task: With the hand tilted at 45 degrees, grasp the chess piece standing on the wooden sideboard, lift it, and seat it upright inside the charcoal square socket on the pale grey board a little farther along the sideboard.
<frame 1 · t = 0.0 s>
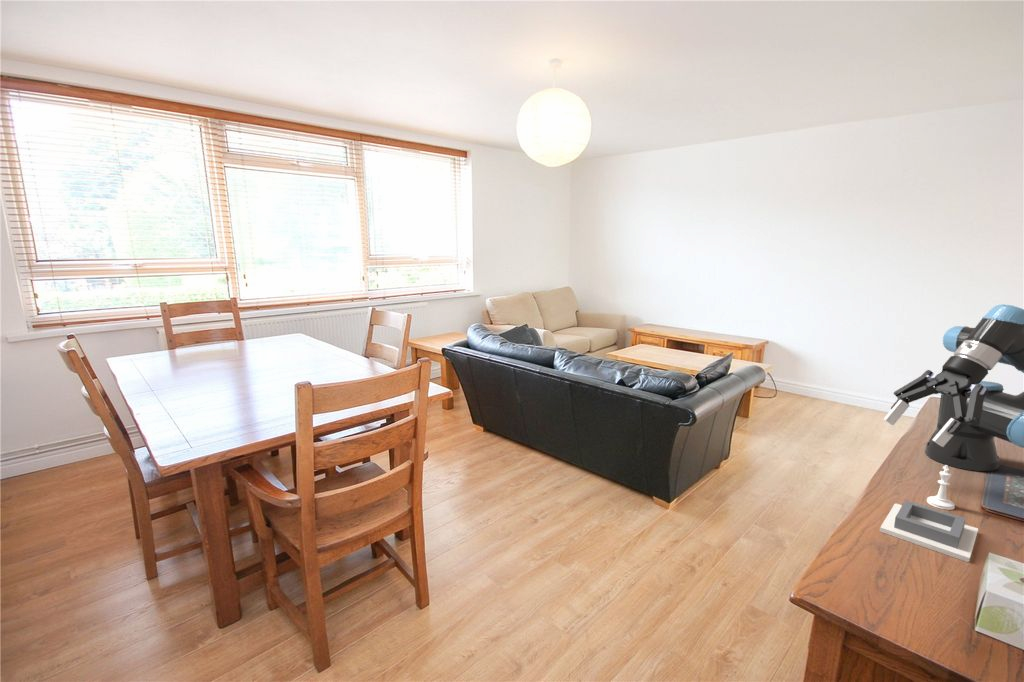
hand: (911, 432, 114), 15 cm above the table, tool tilted 35°, fingers open, 13 cm apart
chess piece: (940, 504, 109), on the table
socket board: (928, 532, 99), on the table
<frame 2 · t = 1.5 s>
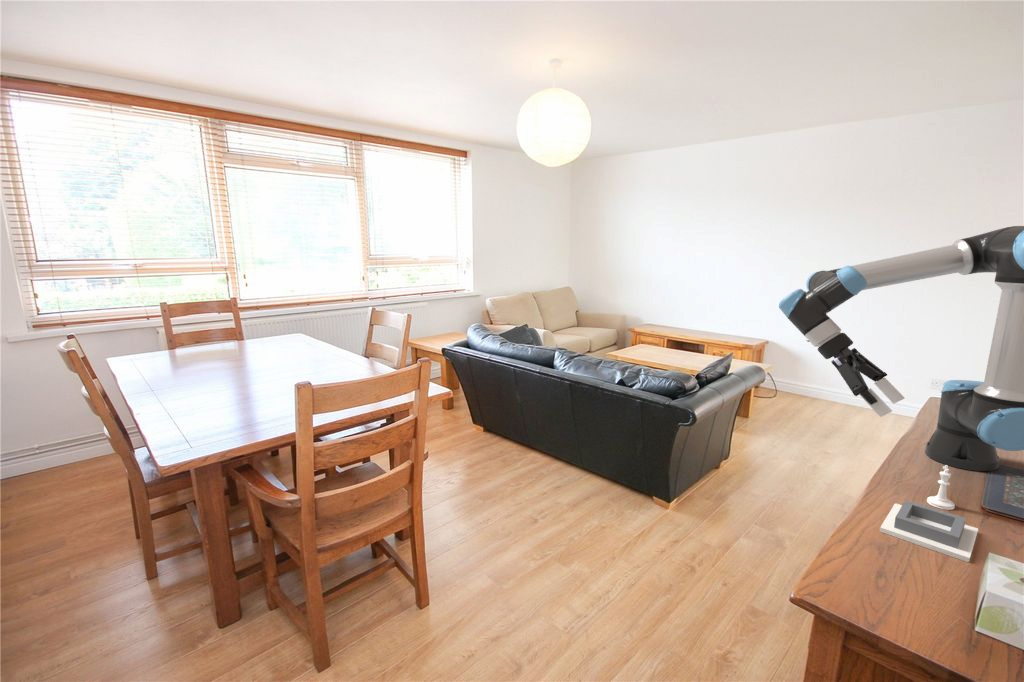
hand: (893, 407, 113), 22 cm above the table, tool tilted 45°, fingers open, 13 cm apart
nothing on the table moved.
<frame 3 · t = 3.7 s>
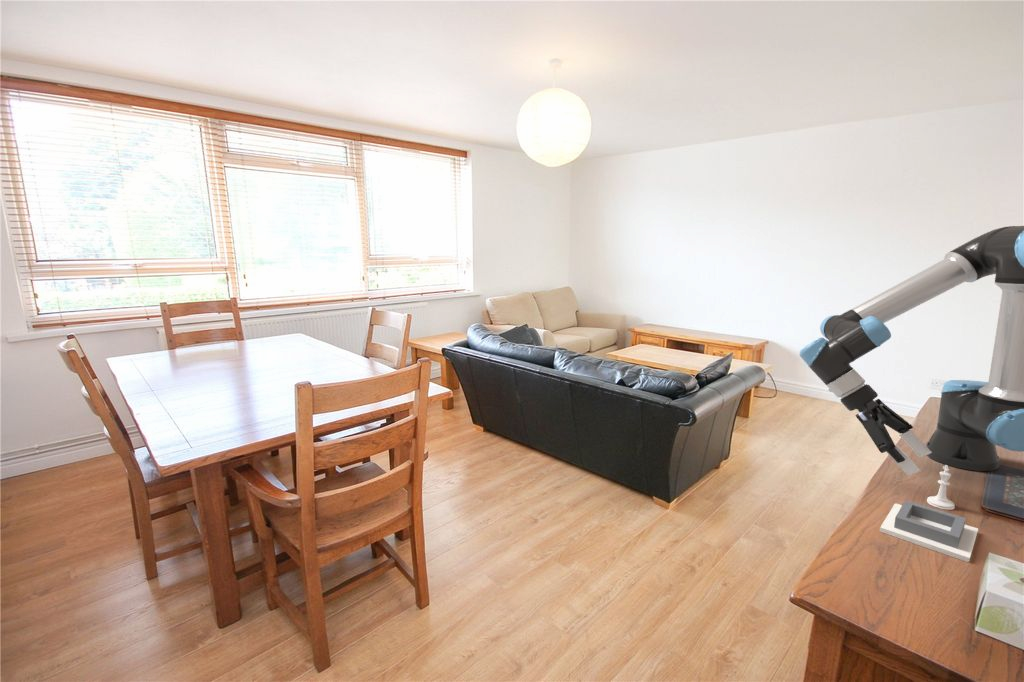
hand: (920, 463, 110), 9 cm above the table, tool tilted 45°, fingers open, 13 cm apart
nothing on the table moved.
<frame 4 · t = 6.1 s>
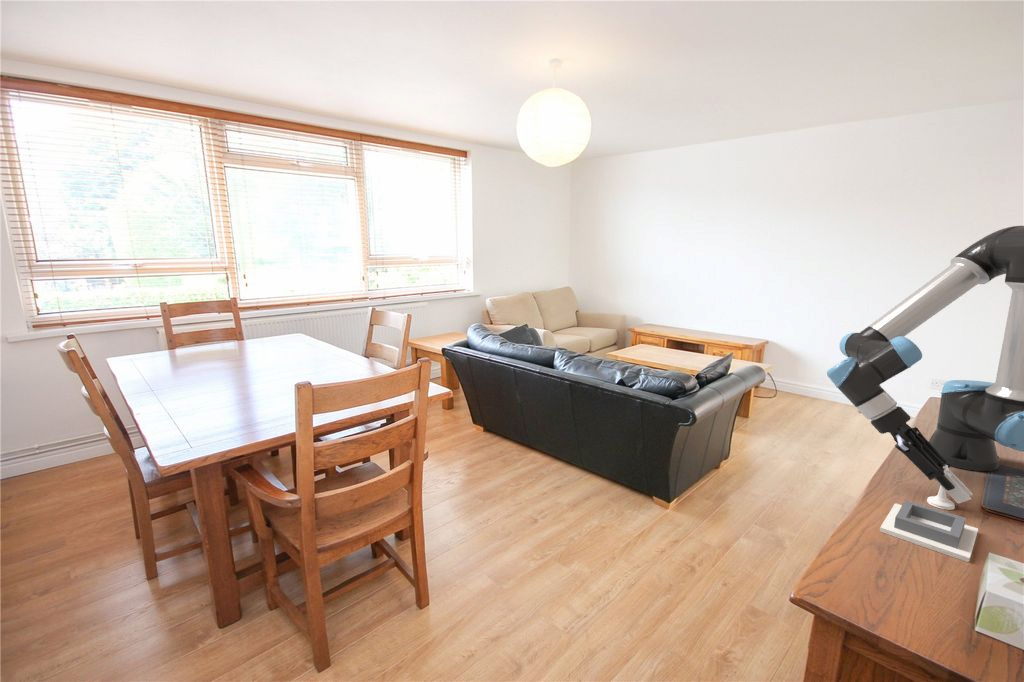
hand: (965, 498, 106), 3 cm above the table, tool tilted 45°, fingers closed on chess piece, 2 cm apart
chess piece: (940, 504, 109), on the table, touching gripper
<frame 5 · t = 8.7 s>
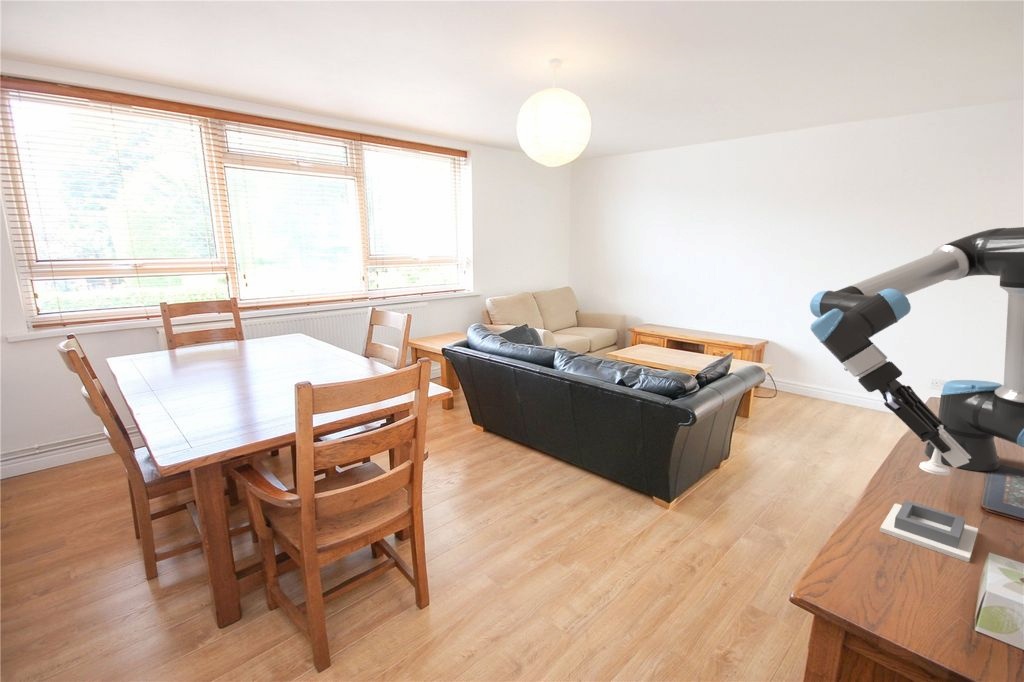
hand: (962, 462, 93), 17 cm above the table, tool tilted 45°, fingers closed on chess piece, 2 cm apart
chess piece: (934, 470, 97), point 14 cm above the table, touching gripper
when the fingers open (6 cm above the table, at t = 11.6 s): chess piece drops 1 cm, resting on socket board.
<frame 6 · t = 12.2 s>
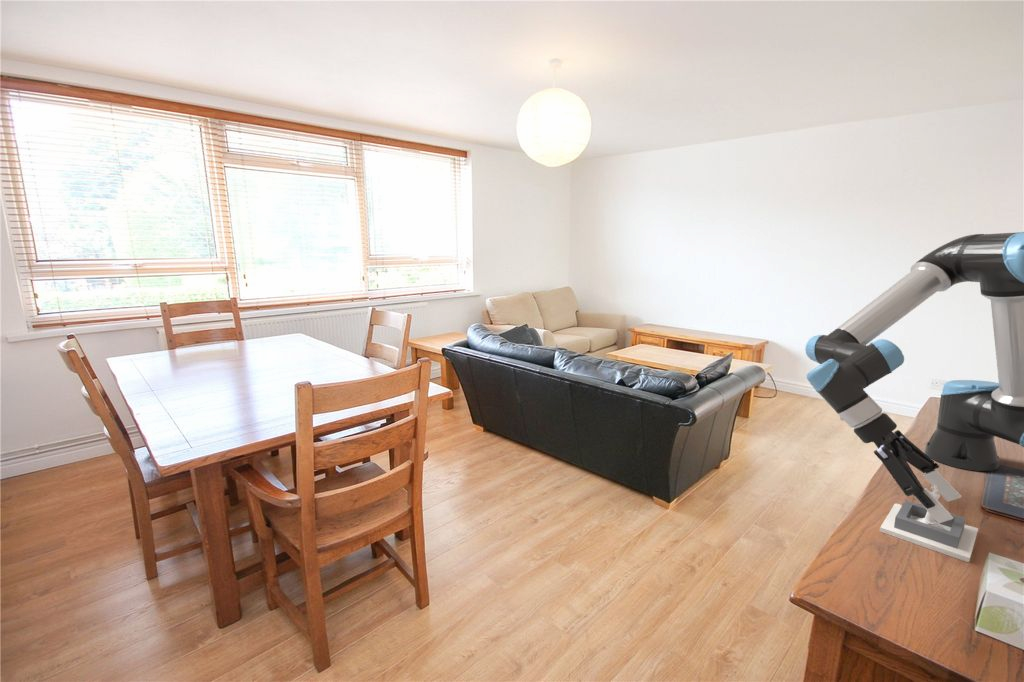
hand: (950, 509, 96), 7 cm above the table, tool tilted 45°, fingers open, 11 cm apart
chess piece: (928, 528, 99), point 1 cm above the table, touching socket board
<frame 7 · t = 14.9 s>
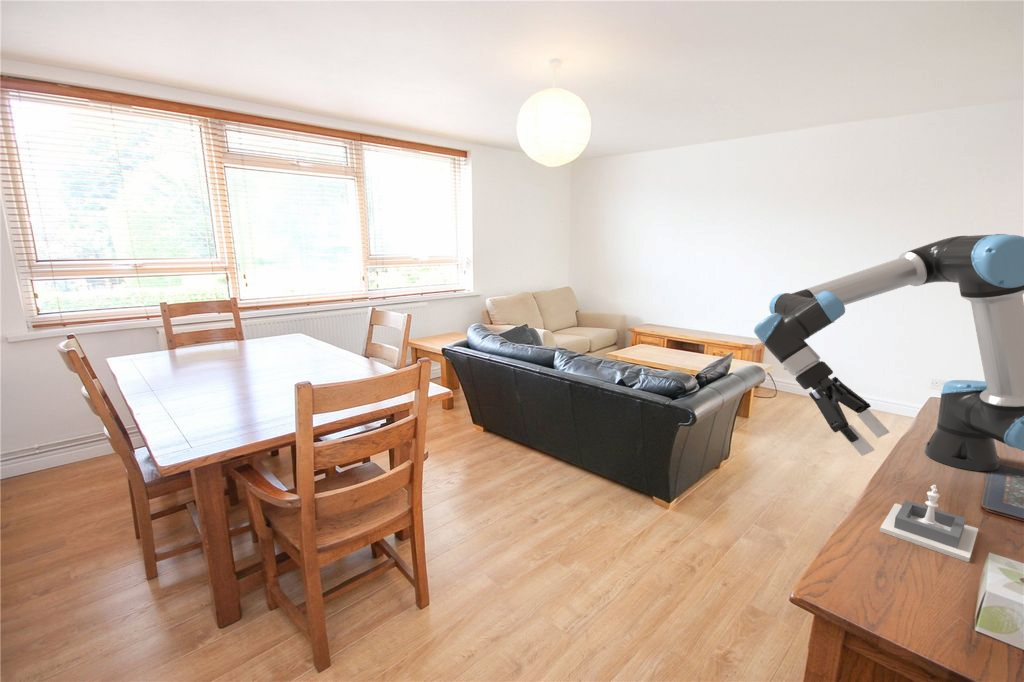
hand: (876, 443, 104), 17 cm above the table, tool tilted 45°, fingers open, 13 cm apart
nothing on the table moved.
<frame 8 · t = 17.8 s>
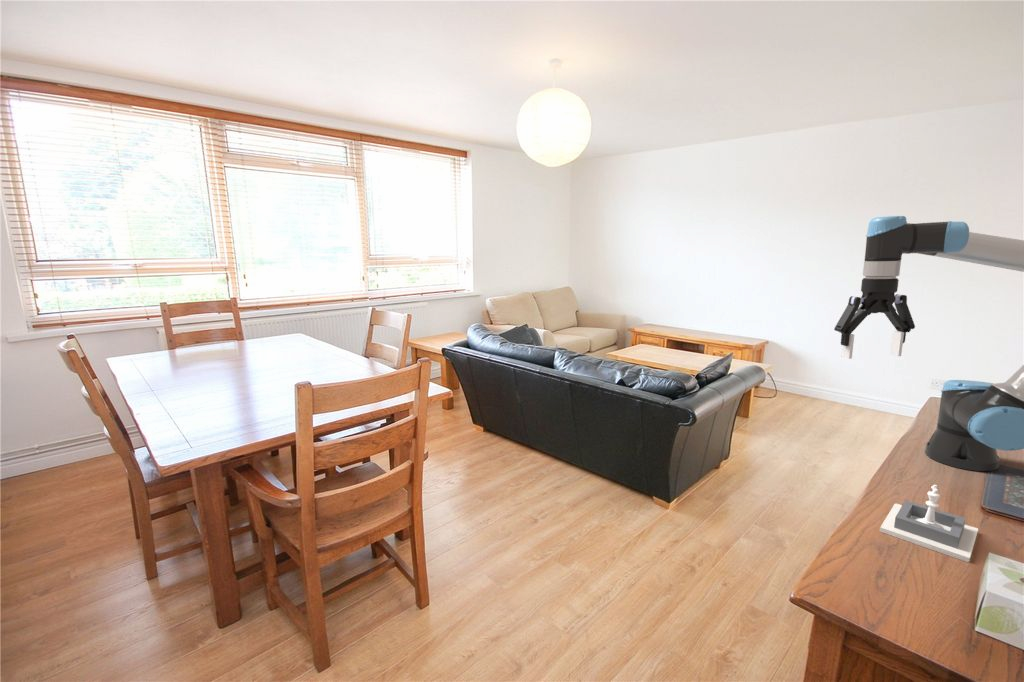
hand: (871, 356, 124), 32 cm above the table, tool pointing down, fingers open, 13 cm apart
nothing on the table moved.
at the end: chess piece 0.1 cm off-centre on the socket board, point 0.8 cm above the socket board's base; chess piece tilted 0°; the gripper is holding nothing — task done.
